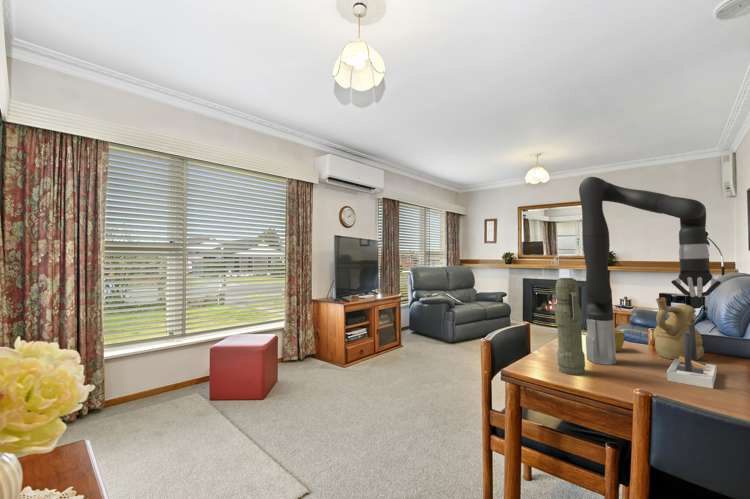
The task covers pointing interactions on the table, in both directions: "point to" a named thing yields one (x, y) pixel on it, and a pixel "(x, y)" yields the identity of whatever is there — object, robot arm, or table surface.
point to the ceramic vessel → (674, 330)
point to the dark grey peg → (687, 352)
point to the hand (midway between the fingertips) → (697, 307)
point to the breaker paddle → (693, 363)
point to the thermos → (569, 327)
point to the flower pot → (618, 339)
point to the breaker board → (692, 374)
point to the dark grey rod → (692, 342)
